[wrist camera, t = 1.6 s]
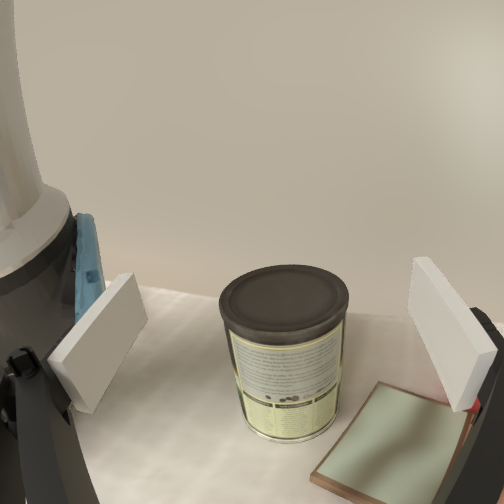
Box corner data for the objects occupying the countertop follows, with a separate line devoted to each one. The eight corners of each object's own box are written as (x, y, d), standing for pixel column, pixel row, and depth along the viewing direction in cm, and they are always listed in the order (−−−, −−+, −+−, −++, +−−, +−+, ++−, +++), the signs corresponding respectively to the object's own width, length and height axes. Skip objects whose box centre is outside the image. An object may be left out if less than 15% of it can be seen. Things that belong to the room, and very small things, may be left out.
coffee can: (224, 397, 33) (199, 288, 28) (300, 360, 38) (296, 253, 32) (274, 462, 25) (261, 354, 19) (359, 409, 29) (376, 295, 24)
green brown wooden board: (309, 481, 23) (310, 473, 22) (376, 390, 31) (378, 379, 30) (519, 550, 9) (530, 544, 8) (546, 440, 17) (554, 430, 17)
